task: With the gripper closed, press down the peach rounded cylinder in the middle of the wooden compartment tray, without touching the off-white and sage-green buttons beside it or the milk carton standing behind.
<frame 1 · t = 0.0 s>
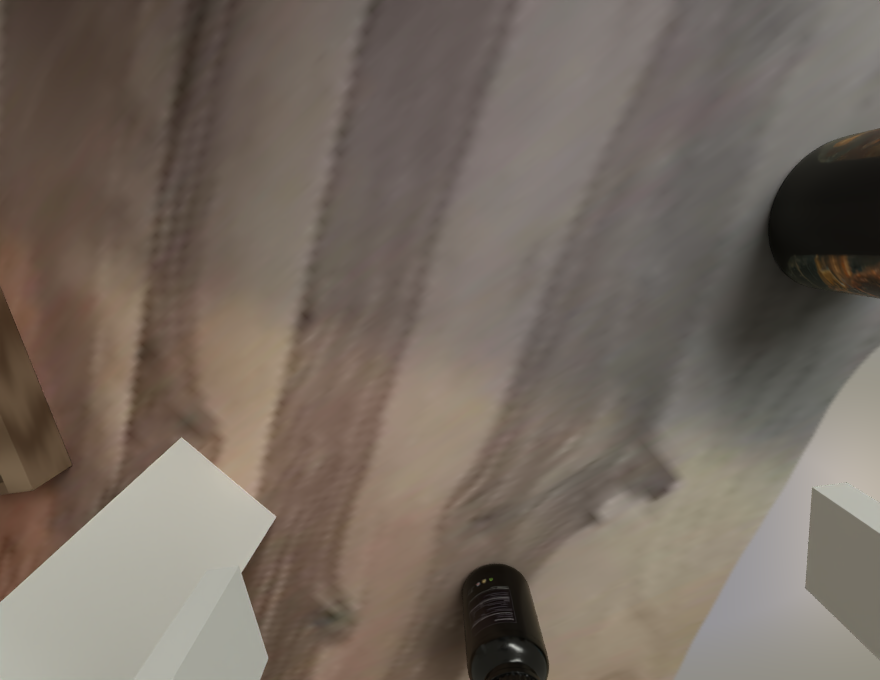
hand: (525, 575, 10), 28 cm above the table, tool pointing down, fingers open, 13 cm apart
jar: (836, 215, 36), on the table
milk: (190, 515, 42), on the table
supplement bottle: (494, 587, 44), on the table
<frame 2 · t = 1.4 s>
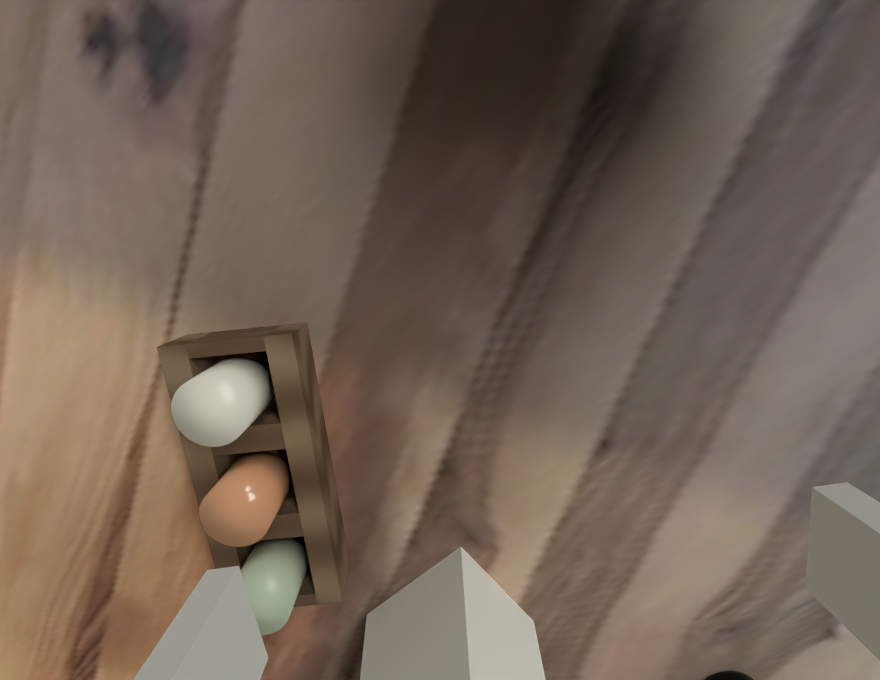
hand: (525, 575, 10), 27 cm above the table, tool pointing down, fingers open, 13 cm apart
milk: (450, 616, 43), on the table
peach rounded cylinder: (249, 496, 33), point 5 cm above the table, slide at 0.0 cm
sage-green button: (269, 582, 35), point 5 cm above the table, slide at 0.0 cm
off-white button: (226, 398, 31), point 5 cm above the table, slide at 0.0 cm
wooden compartment tray: (274, 459, 39), on the table
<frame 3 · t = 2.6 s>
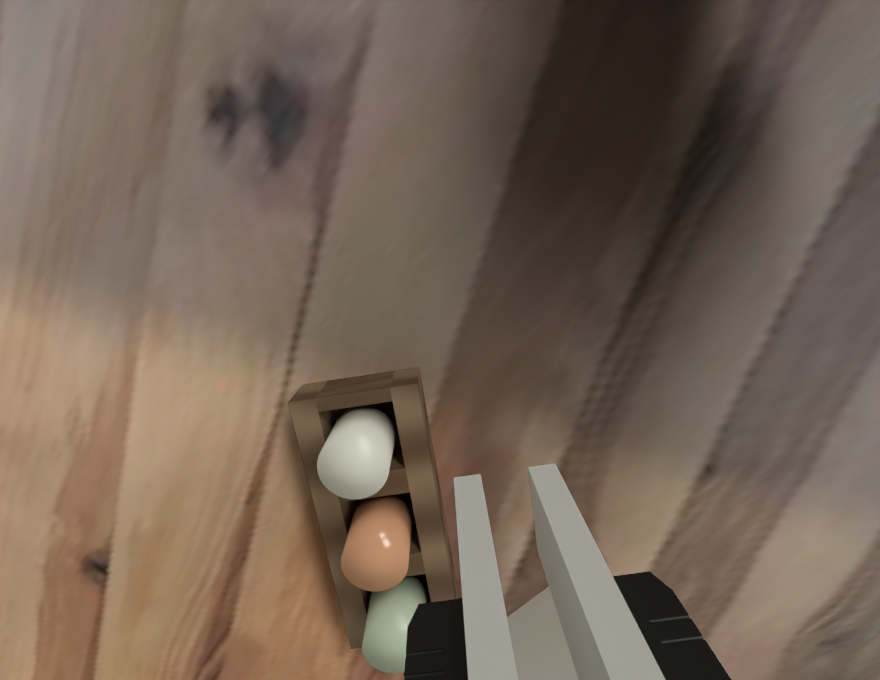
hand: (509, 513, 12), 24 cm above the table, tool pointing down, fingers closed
milk: (555, 639, 44), on the table
peach rounded cylinder: (378, 540, 35), point 6 cm above the table, slide at 0.0 cm
sage-green button: (396, 620, 37), point 6 cm above the table, slide at 0.0 cm
off-white button: (359, 450, 33), point 6 cm above the table, slide at 0.0 cm
wooden compartment tray: (386, 498, 40), on the table
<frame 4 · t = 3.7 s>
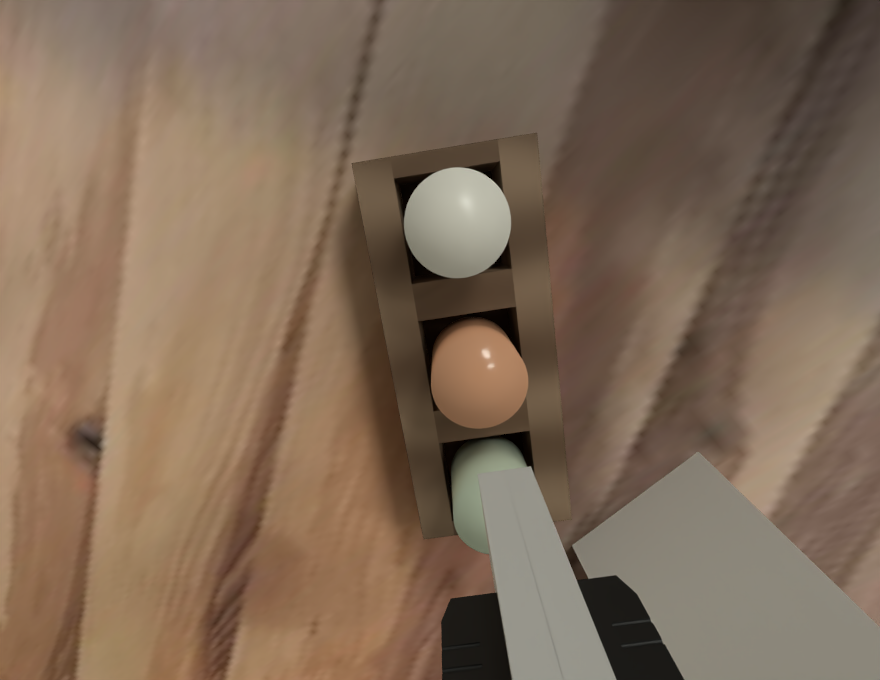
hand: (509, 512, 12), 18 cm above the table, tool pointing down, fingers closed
milk: (675, 544, 35), on the table
peach rounded cylinder: (475, 368, 25), point 5 cm above the table, slide at 0.0 cm
sage-green button: (492, 490, 27), point 5 cm above the table, slide at 0.0 cm
off-white button: (455, 224, 23), point 5 cm above the table, slide at 0.0 cm
wooden compartment tray: (468, 343, 30), on the table
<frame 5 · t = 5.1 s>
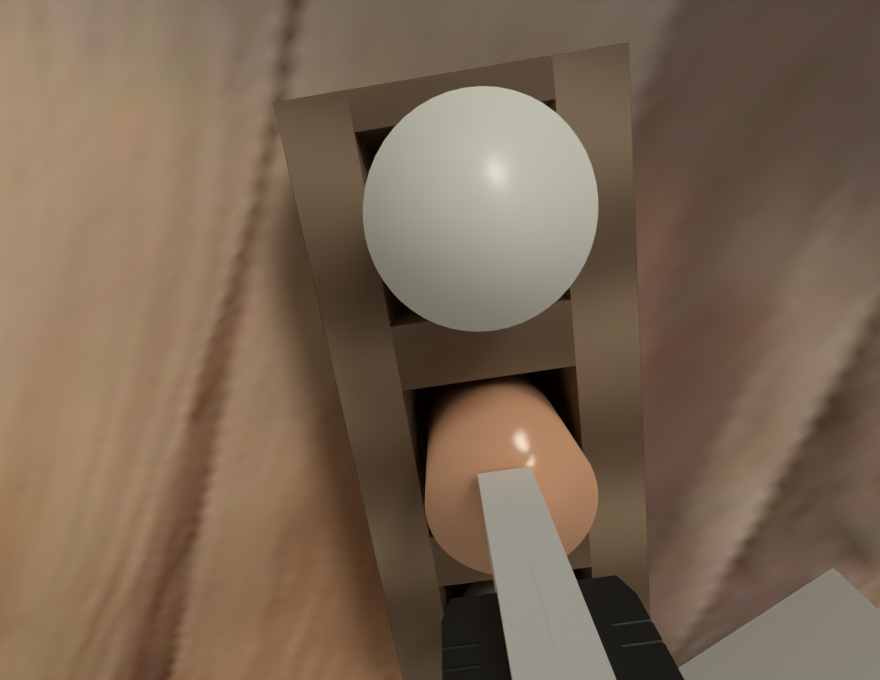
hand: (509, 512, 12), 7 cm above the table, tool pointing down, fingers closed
peach rounded cylinder: (499, 458, 15), point 4 cm above the table, slide at -1.4 cm, touching gripper
sage-green button: (530, 675, 16), point 5 cm above the table, slide at 0.0 cm
off-white button: (471, 219, 12), point 5 cm above the table, slide at 0.0 cm
wooden compartment tray: (486, 409, 19), on the table
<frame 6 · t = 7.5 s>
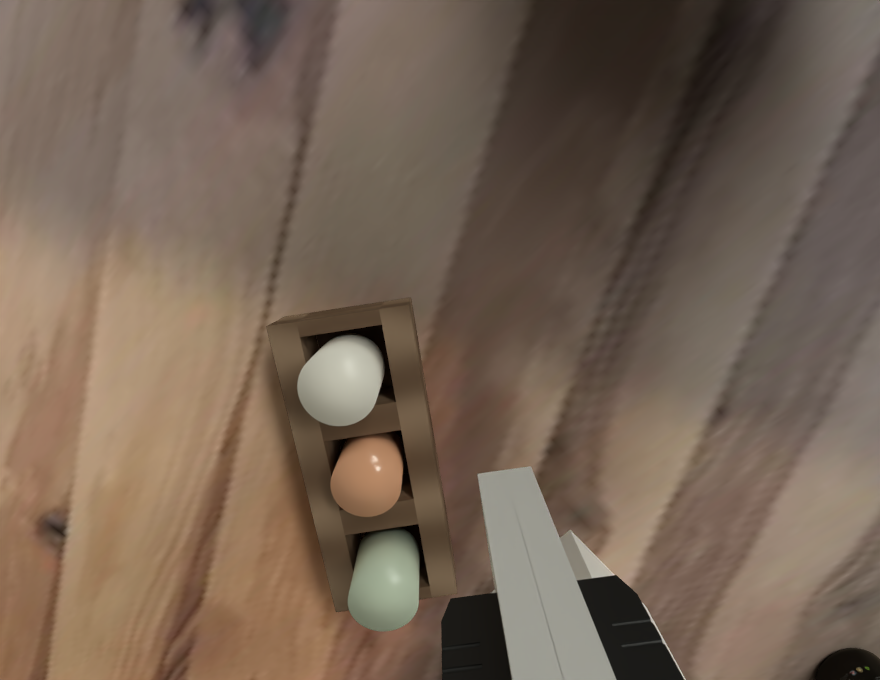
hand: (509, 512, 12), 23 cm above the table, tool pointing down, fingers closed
milk: (558, 605, 41), on the table
peach rounded cylinder: (370, 467, 33), point 4 cm above the table, slide at -2.0 cm
sage-green button: (386, 575, 33), point 5 cm above the table, slide at 0.0 cm
off-white button: (345, 376, 30), point 5 cm above the table, slide at 0.0 cm
supplement bottle: (843, 670, 44), on the table
wooden compartment tray: (375, 446, 37), on the table
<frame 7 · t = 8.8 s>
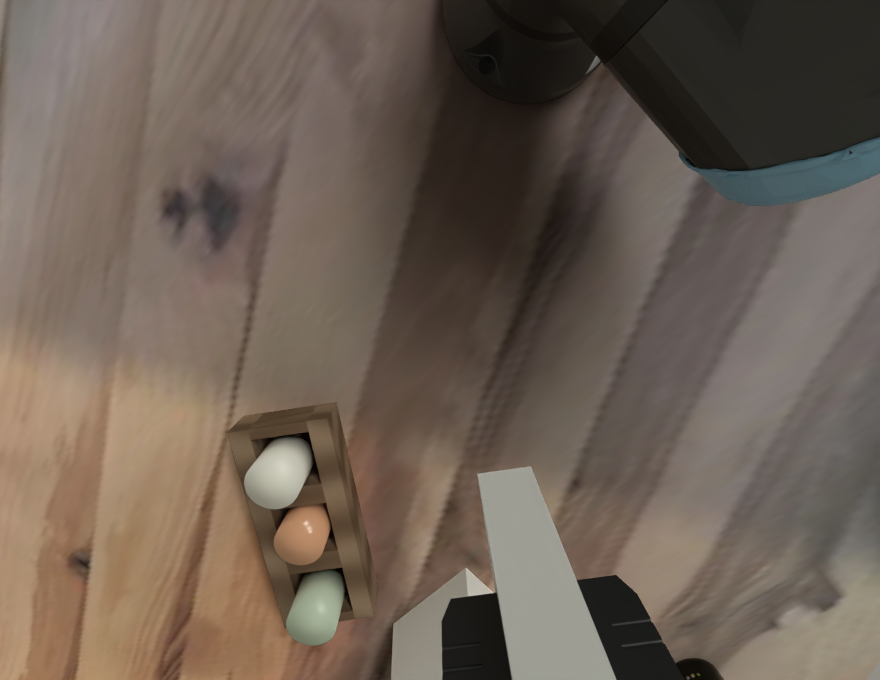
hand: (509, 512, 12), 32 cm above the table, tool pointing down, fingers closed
milk: (460, 622, 54), on the table
peach rounded cylinder: (306, 527, 46), point 4 cm above the table, slide at -2.0 cm
sage-green button: (317, 604, 46), point 5 cm above the table, slide at 0.0 cm
off-white button: (281, 470, 42), point 5 cm above the table, slide at 0.0 cm
supplement bottle: (689, 675, 56), on the table
wooden compartment tray: (315, 506, 49), on the table
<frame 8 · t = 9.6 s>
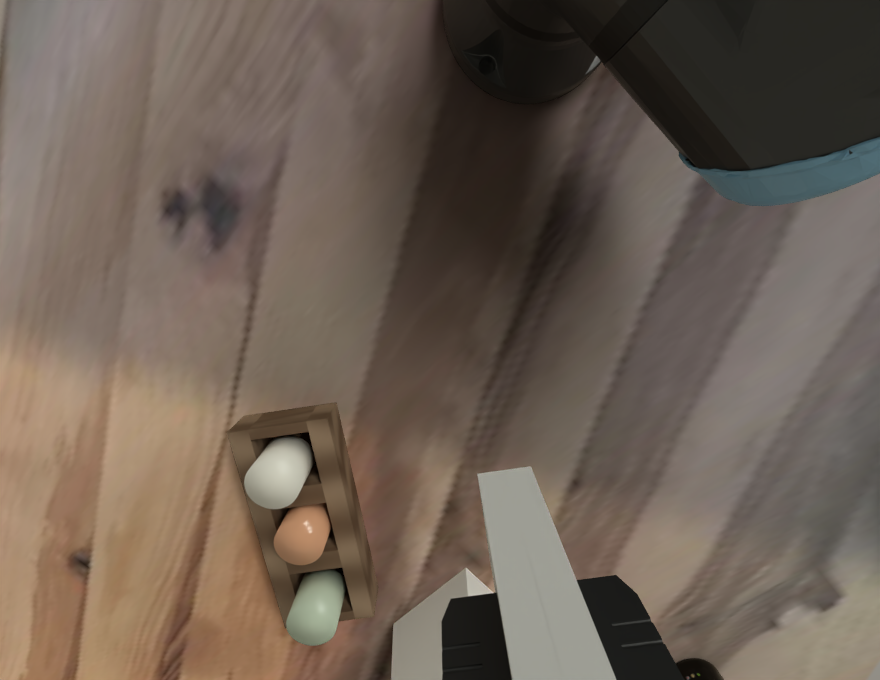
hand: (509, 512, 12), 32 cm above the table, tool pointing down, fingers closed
milk: (460, 622, 54), on the table
peach rounded cylinder: (306, 527, 46), point 4 cm above the table, slide at -2.0 cm
sage-green button: (317, 604, 46), point 5 cm above the table, slide at 0.0 cm
off-white button: (281, 470, 42), point 5 cm above the table, slide at 0.0 cm
supplement bottle: (689, 675, 56), on the table
wooden compartment tray: (315, 506, 49), on the table
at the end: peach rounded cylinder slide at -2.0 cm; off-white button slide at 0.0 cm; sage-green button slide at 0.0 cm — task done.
